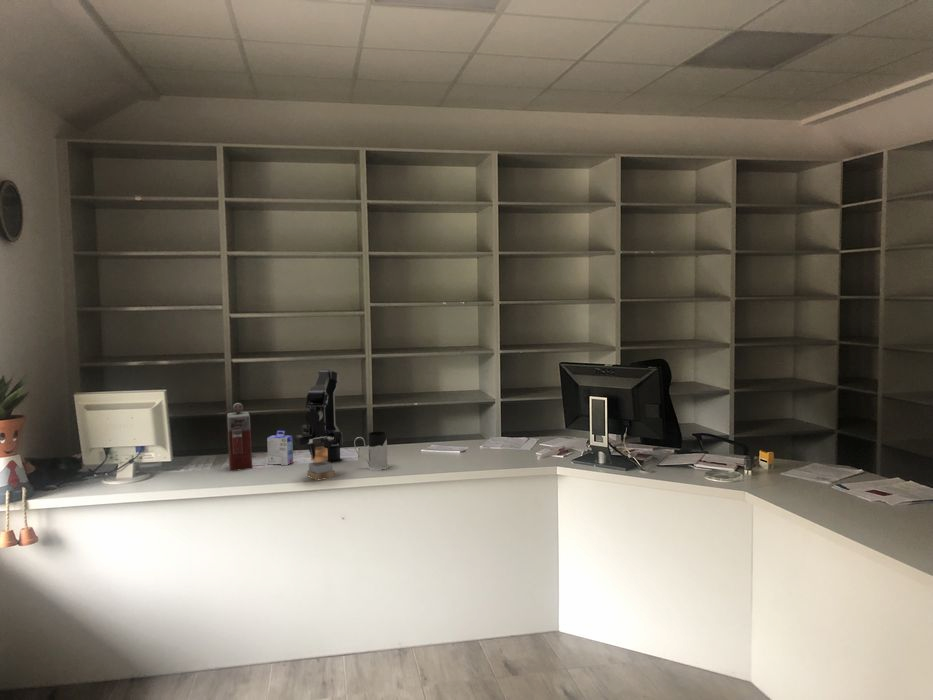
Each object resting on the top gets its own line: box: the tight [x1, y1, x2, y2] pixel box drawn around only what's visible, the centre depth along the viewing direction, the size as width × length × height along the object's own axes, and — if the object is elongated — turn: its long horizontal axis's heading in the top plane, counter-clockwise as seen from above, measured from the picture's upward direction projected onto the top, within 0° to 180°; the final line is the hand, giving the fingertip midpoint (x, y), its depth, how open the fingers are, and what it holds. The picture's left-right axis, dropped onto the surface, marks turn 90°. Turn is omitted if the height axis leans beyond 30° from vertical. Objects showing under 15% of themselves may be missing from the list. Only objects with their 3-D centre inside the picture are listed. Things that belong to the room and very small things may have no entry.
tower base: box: [307, 469, 335, 481], centre depth 274 cm, size 8×8×3 cm
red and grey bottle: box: [226, 402, 253, 471], centre depth 289 cm, size 9×11×28 cm
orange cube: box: [310, 445, 328, 463], centre depth 273 cm, size 5×5×5 cm
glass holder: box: [353, 431, 389, 471], centre depth 286 cm, size 9×14×15 cm, turn 99°
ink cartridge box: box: [266, 430, 294, 466], centre depth 296 cm, size 10×6×14 cm, turn 78°
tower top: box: [308, 461, 334, 474], centre depth 274 cm, size 7×7×3 cm
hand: (319, 457), depth 274 cm, fingers closed on orange cube, 5 cm apart
